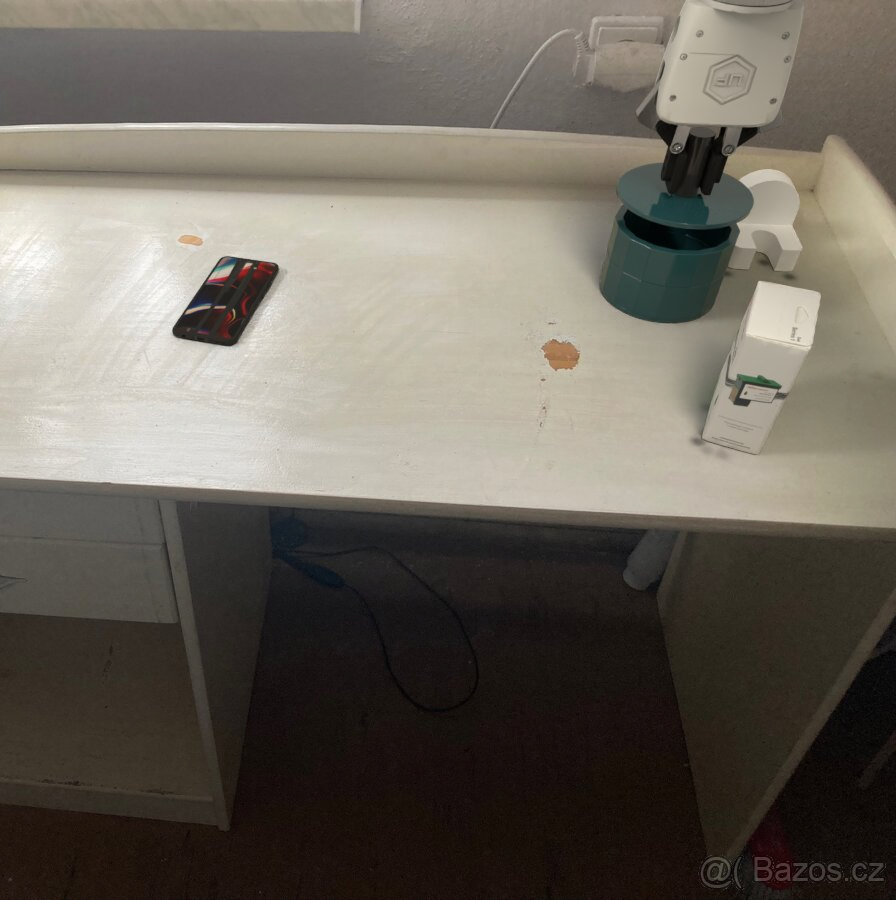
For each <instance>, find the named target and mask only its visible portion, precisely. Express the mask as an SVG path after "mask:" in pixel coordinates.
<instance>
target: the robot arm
mask: <svg viewBox="0 0 896 900" xmlns="http://www.w3.org/2000/svg"><path fill="white" fill-rule="evenodd" d="M804 11H805V2H804V1H803V0H684V2H683V4H682V7H681V9H680V12H679V14H678V16H677V19H676V20H675V23H674V25H673V28H672V31H671V34H670V36H669V38H668V42H667V44H666V47H665V50H664V53H663V56H662V60H661V62H660V65H659V69H658V72H657V75H656V79H655V83H654V85H653V87H652V89H651V90H650V91H649V93H648V94H647V95H646V96H645V98H644V100H643V101H642V102H641V103H640V105H639V106H638V108H637V109H636V110H635V112H634V115H635V119H636V121H637V123H638V124H640V125H642V126H644V127H646V128H648V129H649V130H651V131H655V132H656V133H657V134H658V136H659V137H660V138H661V140H662V141H663V142H664V143H665V145H666V146H667V148H666V152H665V155H664V159H663V162H662V163H663V166H662V170H661V180H662V181H665V184H666V187H667V191H668V194H675V192H676V193H677V191H678V187H679V184H680V180H681V177H682V174H683V170H684V167H685V164H686V160H687V153H686V150H685V149H686V141H687V138H688V135H689V132H690V129H691V128H692V127H717V128H718V130H717V133H716V137H715V139H714V142H713V146H712V149H711V152H710V155H709V158H708V161H707V165H706V168H705V171H704V174H703V177H702V181H701V184H700V190H701V193H702V194H704V195H710V194H711V192H712V189H713V186H714V183H719V182H720V180H721V177H722V174H723V173H724V170H725V168H726V164H727V162H728V158H729V156H732V155H734V154H735V153H736V151H737V149H738V148H739V147H741V146H742V145H743V144H745V143H746V142H748V141H749V140H751V139H752V138H754V137H755V136H756V135H758V134H763V133H766V132H769V131H772V130H775V129H777V128H779V127H781V126H782V125H783V124H784V114H783V107H782V103H783V101H784V97H785V93H786V92H787V91H786V90H787V87H788V84H789V81H790V76H791V73H792V68H793V65H794V62H795V61H794V60H795V58H796V53H797V49H798V44H799V40H800V35H801V30H802V25H803V18H804Z"/></svg>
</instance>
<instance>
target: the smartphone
mask: <svg viewBox="0 0 896 900" xmlns="http://www.w3.org/2000/svg"><path fill="white" fill-rule="evenodd" d="M279 271H280V268H279V264H278V263H276V262H273V261H264V260H258V259H251V258H246V257H245V258H243V257H237V256H232V255H231V256H230V255H225V256H222V257H220V258H219V259H218V260H217V262H216V264H215V265H214V266H213V268H212V269H211V271H210V272H209V274H208V276H207V277H206V278H205V280H204V281H203V283H202V284H201V286H200V287H199V288H198V290H197V291H196V293H195V294H194V296H193V297H192V299H191V300H190V302H189V303H188V304H187V306H186V307H185V309H184V310H183V312H182V313H181V315H180V316H179V317H178V319H177V321H176V322H175V323H174V324H173V327H172V329H171V332H172V335H173V336H174V337H177V338H181V339H187V340H193V341H199V342H206V343H210V344H216V345H222V346H223V345H224V346H232V345H234V344H236V343H237V342H238V340H239V339H240V337H241V335H242V334H243V332H244V330H245V329H246V327H247V325H248V324H249V322H250V320H251V319H252V317H253V315H254V313H255V312H256V310H257V309H258V306H259V305H260V303H261V302H262V300H263V299H264V297H265V295H266V293H268V291H269V290H270V287H271V285H272V282H273V281H274V279H275V278H276V276H277V274H278V273H279Z"/></svg>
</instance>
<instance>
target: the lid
mask: <svg viewBox="0 0 896 900" xmlns="http://www.w3.org/2000/svg"><path fill="white" fill-rule="evenodd" d="M716 137H717V133H716V131H715V130H714V129H712V128H709V127H707V126H692V127H691V129H690V132H689V135H688V138H687V141H686V149H685V150H686V153H687V160H686V164H685V167H684V170H683V174H682V177H681V180H680V184H679V187H678V191H677V193H676V192H675V194H668V191H667V187H666V184H665V181H662V180H661V170H662V166H663V162H654V163H648V164H642V165H640V166H636V167H633V168H631V169H629V170H627V171H626V172H624V173H623V174H622V175H621V176H620V177H619V178H618V180H617V183H616V188H615V193H616V197H617V199H618V200H619V202H620V203H621V204H622V205H624V206H625V207H626V208H627V209H629V210H630V211H631V212H633V213H635V214H636V215H638V216H640V217H642V218H644V219H647V220H649V221H652V222H655V223H658V224H662V225H666V226H671V227H676V228H684V229H716V228H723V227H727V226H730V225H733V224H736V223H738V222H740V221H742V220H743V219H745V218H746V217H747V216H748V215H749V214H750V212H751V210H752V208H753V204H754V198H753V195H752V193H751V192H750V190H749V189H748V188H747V187H746V186H745V185H744V184H743V183H742V182H740V181H739V180H740V179H737V178H736V177H734V176H732V175H730V174H729V173H728V174H727V173H725V172H723V174H722V177H721V180H720V182H719V183H714V186H713V189H712V192H711V194H710V195H704V194H702V193H701V190H700V184H701V181H702V177H703V174H704V171H705V168H706V165H707V161H708V158H709V155H710V152H711V149H712V146H713V142H714V139H716Z"/></svg>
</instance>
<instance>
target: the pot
mask: <svg viewBox="0 0 896 900" xmlns="http://www.w3.org/2000/svg"><path fill="white" fill-rule="evenodd" d="M739 234H740V229H739V227H738V225H737V223H736V224H733V225H730V226H727V227H723V228H716V229H684V228H676V227H671V226H666V225H662V224H658V223H655V222H652V221H649V220H647V219H644V218H642V217H640V216H638V215H636V214H635V213H633V212H631V211H630V210H629V209H627V208H626V207H625V206H624V205H623V204H622V205H620V207H618V210H617V212H616V214H615V215H614V219H613V222H612V228H611V231H610V234H609V240H608V244H607V246H606V251H605V256H604V260H603V264H602V268H601V273H600V276H599V289H600V292H601V294H602V296H603V297H604V298H605V300H606V301H607V302H608V303H609V304H610V305H611V306H613V308H615V309H617V310H619V312H622V313H624V314H626V315H628V316H631V317H634V318H636V319H640V320H644V321H647V322H654V323H663V324H676V323H685V322H691V321H694V320H697V319H700V318H702V317H703V316H705V315H707V314H708V313H709V312H710V311H711V310H712V308H713V307H714V305H715V302H716V299H717V297H718V295H719V291H720V288H721V286H722V283H723V281H724V278H725V275H726V272H727V269H728V268H729V267H728V264H729V261H730V258H731V256H732V253H733V250H734V247H735V245H736V242H737V239H738V236H739Z"/></svg>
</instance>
